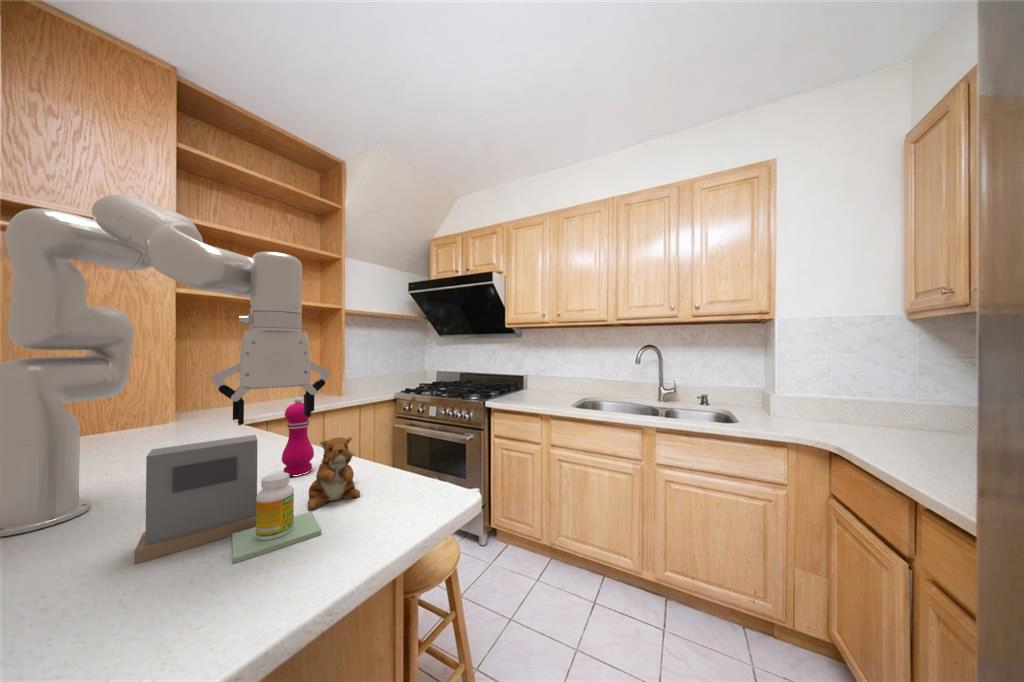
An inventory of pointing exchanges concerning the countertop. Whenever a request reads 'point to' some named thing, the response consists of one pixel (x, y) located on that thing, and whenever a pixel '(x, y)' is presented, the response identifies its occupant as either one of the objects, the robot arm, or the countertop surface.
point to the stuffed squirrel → (333, 474)
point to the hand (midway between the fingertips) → (275, 419)
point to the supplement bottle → (274, 507)
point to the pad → (251, 546)
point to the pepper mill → (297, 441)
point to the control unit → (198, 495)
